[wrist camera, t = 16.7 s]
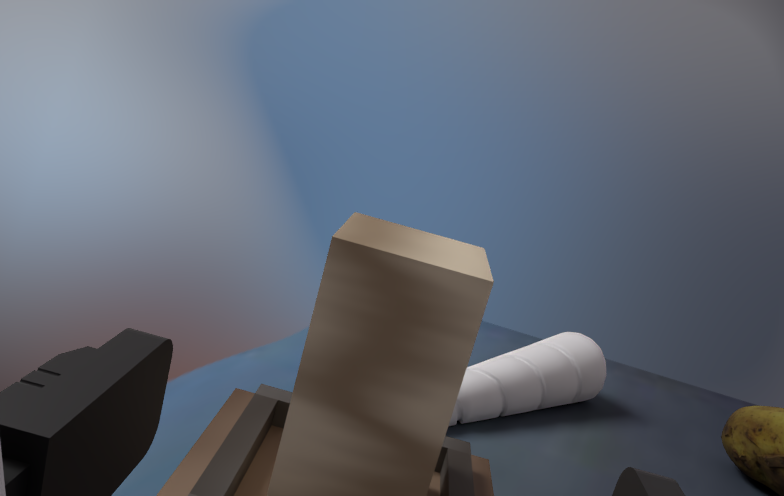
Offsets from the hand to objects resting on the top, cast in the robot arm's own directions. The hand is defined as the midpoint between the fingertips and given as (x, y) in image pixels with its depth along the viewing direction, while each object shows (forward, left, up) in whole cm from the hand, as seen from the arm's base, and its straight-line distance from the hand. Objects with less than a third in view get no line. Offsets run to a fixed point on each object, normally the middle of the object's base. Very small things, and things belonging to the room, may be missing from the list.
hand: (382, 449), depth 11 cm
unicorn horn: (-6, -27, -11) cm, 30 cm away
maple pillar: (0, -11, -9) cm, 14 cm away
